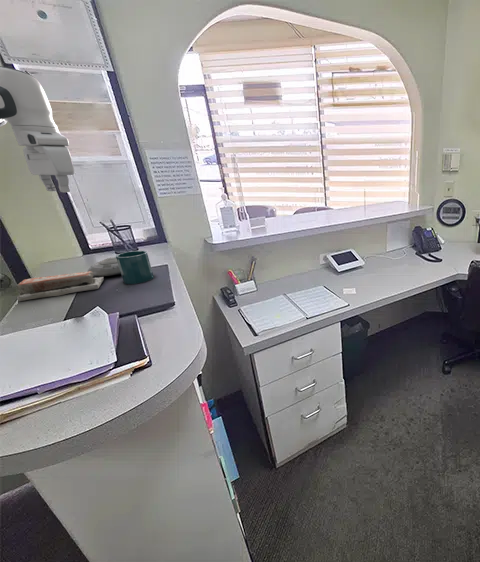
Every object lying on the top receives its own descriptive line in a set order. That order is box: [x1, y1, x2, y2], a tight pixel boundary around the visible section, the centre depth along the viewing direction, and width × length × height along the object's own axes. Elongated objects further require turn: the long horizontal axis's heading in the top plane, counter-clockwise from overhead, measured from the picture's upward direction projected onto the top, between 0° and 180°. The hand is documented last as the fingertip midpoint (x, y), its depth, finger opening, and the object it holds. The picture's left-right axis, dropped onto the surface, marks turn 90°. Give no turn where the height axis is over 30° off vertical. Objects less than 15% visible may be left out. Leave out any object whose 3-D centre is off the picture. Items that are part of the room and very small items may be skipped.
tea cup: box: [115, 250, 155, 285], centre depth 103 cm, size 8×8×9 cm
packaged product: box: [16, 271, 105, 302], centre depth 95 cm, size 18×5×10 cm
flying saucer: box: [86, 256, 121, 277], centre depth 110 cm, size 15×15×6 cm
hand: (58, 191), depth 89 cm, fingers open, 8 cm apart
